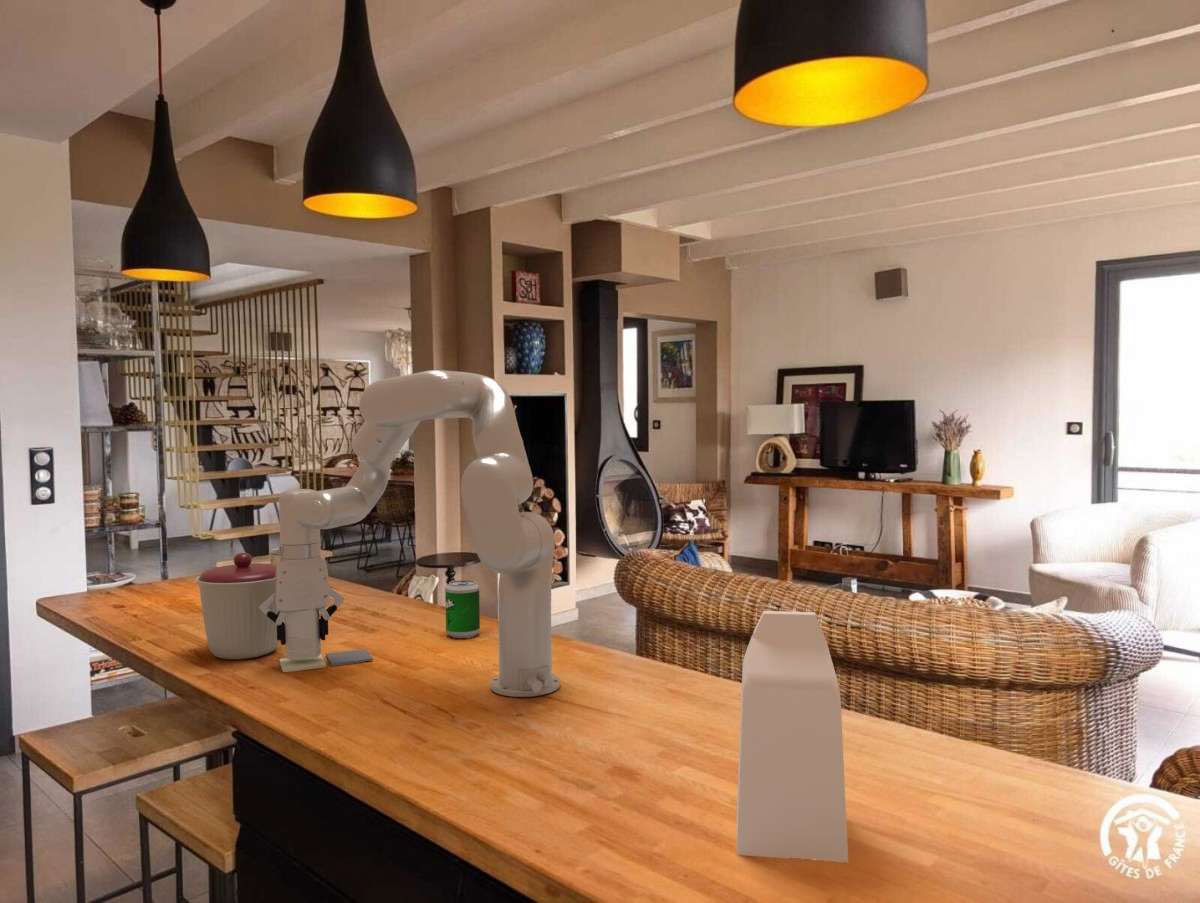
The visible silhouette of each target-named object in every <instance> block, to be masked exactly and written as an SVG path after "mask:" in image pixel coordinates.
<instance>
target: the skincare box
mask: <svg viewBox="0 0 1200 903" xmlns="http://www.w3.org/2000/svg"><path fill="white" fill-rule="evenodd" d="M283 621H284V625H285V643H286V644H285V658H286V659H305V658H317V657H318V656H319V655H320V654H321V655H322V646H321V645H322V644H321V643H322V642H321V641H322V640H321V638H320V611H319V610H318V609H314V599H312V609H309V610H305V611H295V612H287V614H286V616H285V618H284V620H283Z"/></svg>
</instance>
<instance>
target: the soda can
mask: <svg viewBox="0 0 1200 903" xmlns="http://www.w3.org/2000/svg"><path fill="white" fill-rule="evenodd" d="M444 589H445V591H444V592H445V593H444V594H445V597H444V598H445V599H444V600H445V632H446V634H447V635H448V636H449V637H450V636H451V637H454V638H453V639H455V638H467V639H471V637H472V638H474V636H475V637H476V636H477V634H479V632H480V630H481V626H480V625H481V623H480V622H481V618H480V616H481V615H480V610H481V609H480V604H481V603H480V586H479V585H478V584H477V583H476V581H475V580H472V579H471V580H470V579H459V580H453V581H449V582H448V584H447V585H446V587H445V588H444ZM451 637H450V638H451Z"/></svg>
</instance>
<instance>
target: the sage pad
mask: <svg viewBox="0 0 1200 903" xmlns="http://www.w3.org/2000/svg"><path fill="white" fill-rule="evenodd" d="M279 665H280V668H281V671H282V673H290V672H299V671H306V670H307V671H308V670H313V669H322V668H327V663H326V661H325V659H324V657H323V655H322V653H321V654H320V655H319V656H318V657H317V658H305V659H286V657H285V658H279Z"/></svg>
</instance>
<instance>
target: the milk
mask: <svg viewBox="0 0 1200 903" xmlns="http://www.w3.org/2000/svg"><path fill="white" fill-rule="evenodd" d="M819 621H820V620H819V619H818V617H817V614H816V612H815V611H814V612H811V611H785V610H784V611H783V610H781V611H777V610H763V611H762V613H761V616H760V618H759V619H758V621H757V624H756V626H755V628H754V630H753V633H752V635H751V637H750V640H749V643H748V645H747V648H746V651H745V654H744V657H743V661H742V670H741V671H742V672H741V673H742V674H741V695H740V697H741V698H740V700H741V701H740V724H739V725H740V726H739V741H738V742H739V744H738V745H739V748H738V750H739V751H738V766H737V767H738V771H737V794H736V795H737V796H736V855H737V856H750V857H762V858H764V857H765V858H775V859H776V858H778V859H779V858H780V859H789V858H804V859H816V860H815V861H817V860H827V861H826V862H830V861H836V862H835V863H844V862H848V863H849V853H848V852H849V848H848V830H847V829H848V828H847V826H848V825H847V809H846V808H847V807H846V784H845V767H844V766H845V762H844V744H843V743H844V742H843V739H844V738H843V725H842V724H843V723H842V722H843V721H842V717H843V716H842V702H841V692H840V686H839V683H838V682H839V681H838V678H837V674H836V671H835V667H834V666H835V665H834V663H833V660H832V656H831V652H830V649H829V646H828V642H827V639H826V636H825V634H824V630H823V629H822V627H821V624H820V622H819ZM837 861H838V862H837Z"/></svg>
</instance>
